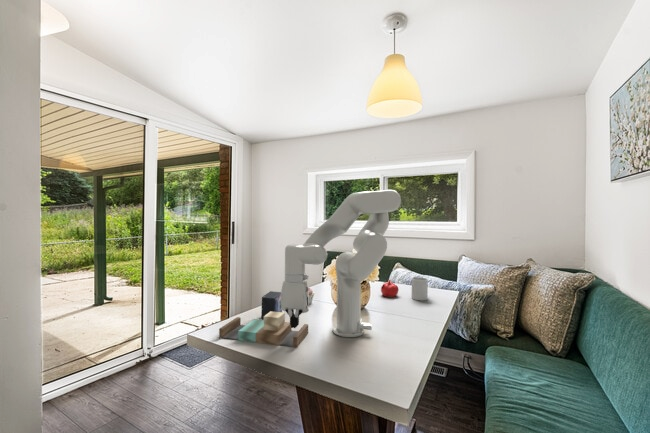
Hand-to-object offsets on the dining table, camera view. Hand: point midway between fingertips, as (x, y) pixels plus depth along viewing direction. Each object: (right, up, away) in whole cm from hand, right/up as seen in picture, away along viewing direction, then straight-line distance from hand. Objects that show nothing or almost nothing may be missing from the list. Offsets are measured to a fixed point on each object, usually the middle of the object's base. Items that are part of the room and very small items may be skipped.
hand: (294, 326), depth 114 cm
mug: (+65, -5, +57) cm, 86 cm away
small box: (-12, -5, +23) cm, 27 cm away
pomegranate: (+49, -4, +61) cm, 78 cm away
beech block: (-8, -1, +2) cm, 8 cm away
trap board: (-12, -5, +3) cm, 13 cm away
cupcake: (+1, -4, +45) cm, 45 cm away
